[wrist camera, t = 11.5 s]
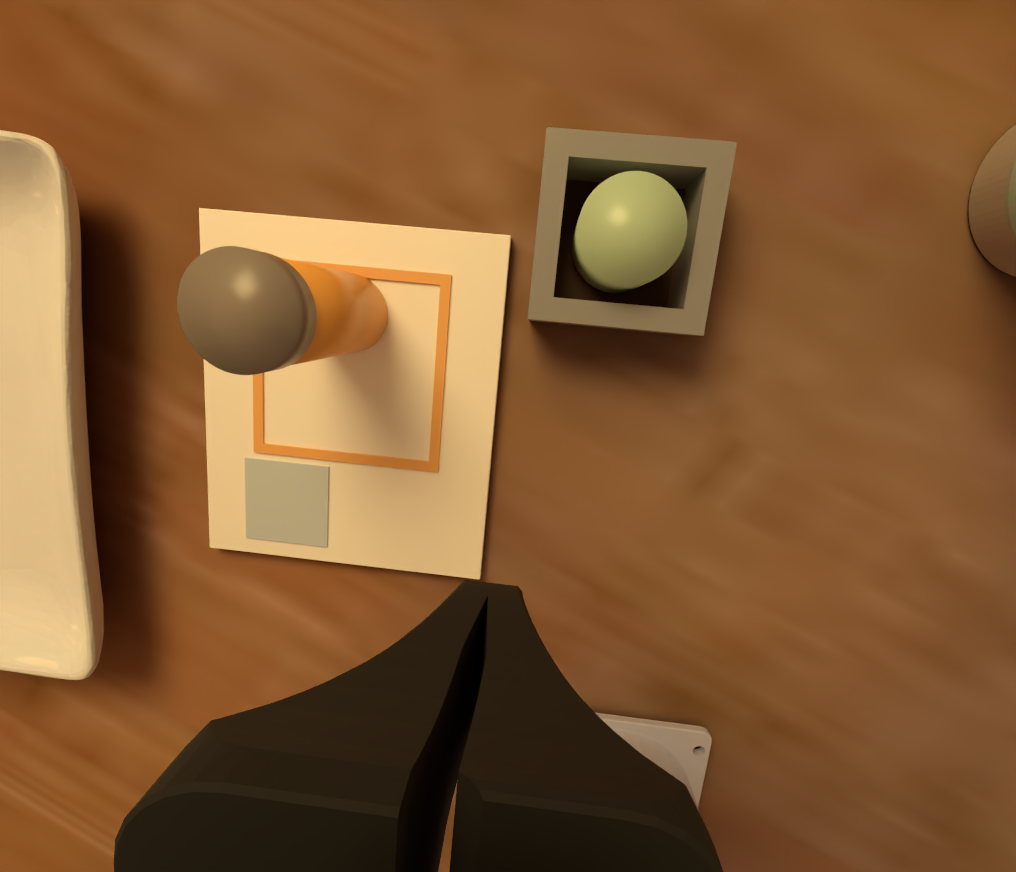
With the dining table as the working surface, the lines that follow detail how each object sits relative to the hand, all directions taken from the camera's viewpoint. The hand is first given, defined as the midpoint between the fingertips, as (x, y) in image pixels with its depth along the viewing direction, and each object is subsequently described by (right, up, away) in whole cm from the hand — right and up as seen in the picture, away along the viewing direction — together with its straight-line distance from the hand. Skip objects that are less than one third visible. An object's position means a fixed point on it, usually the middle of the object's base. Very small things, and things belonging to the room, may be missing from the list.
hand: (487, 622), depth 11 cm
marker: (-6, +9, +8) cm, 13 cm away
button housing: (+5, +11, +7) cm, 14 cm away
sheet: (-6, +6, +9) cm, 12 cm away
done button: (+5, +12, +8) cm, 15 cm away
